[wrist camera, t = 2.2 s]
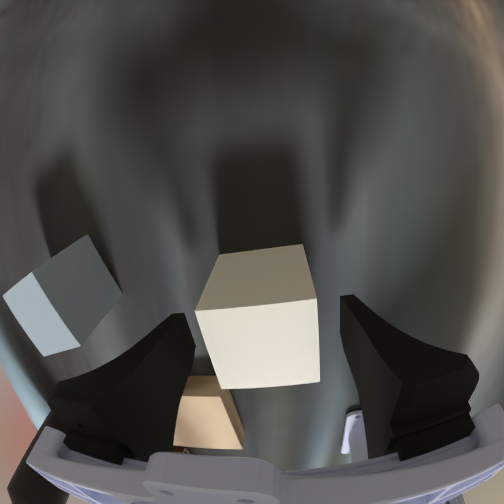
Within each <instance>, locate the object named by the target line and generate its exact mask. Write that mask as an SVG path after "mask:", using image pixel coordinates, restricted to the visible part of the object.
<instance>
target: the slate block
mask: <svg viewBox="0 0 504 504" xmlns="http://www.w3.org/2000/svg"><path fill="white" fill-rule="evenodd" d="M122 294H123V293H122V292H121V290H120V288H119V287H118V285H117V284H116V282H115V280H114V279H113V277H112V276H111V274H110V272H109V271H108V269H107V267H106V266H105V264H104V262H103V260H102V259H101V257H100V255H99V254H98V252H97V250H96V248H95V246H94V245H93V243H92V241H91V239H90V237H89V235H88V234H87V235H85V236H84V237H82V238H80V239H79V240H77V241H76V242H74V243H73V244H71V245H70V246H68V247H67V248H65V249H64V250H62V251H61V252H59V253H58V254H56V255H55V256H53V257H52V258H51V259H49V260H48V261H46V262H45V263H43V264H42V265H41V266H39V267H38V268H36V269H35V270H34V271H32V272H31V273H30V274H28V275H27V276H26V277H25V278H23V279H22V280H21V281H20V282H18V283H17V284H16V285H15V286H14V287H12V288H11V289H10V290H9V291H8V292H6V293H5V294H4V295H3V298H4V299H5V301H6V303H7V304H8V306H9V308H10V309H11V311H12V313H13V314H14V316H15V317H16V319H17V320H18V322H19V323H20V325H21V326H22V328H23V329H24V331H25V332H26V334H27V335H28V336H29V338H30V339H31V341H32V342H33V343H34V345H35V346H36V347H37V349H38V350H39V351H40V353H41V354H42V355H43V356H47V355H50V354H54V353H58V352H61V351H65V350H68V349H72V348H76V347H79V346H81V345H82V344H83V343H84V341H85V340H86V339H87V337H88V336H89V335H90V334H91V332H92V331H93V330H94V329H95V327H96V326H97V325H98V324H99V322H100V321H101V320H102V319H103V317H104V316H105V315H106V314H107V312H108V311H109V310H110V309H111V308H112V306H113V305H114V304H115V303H116V301H117V300H118V299H119V298H120V297H121V296H122Z"/></svg>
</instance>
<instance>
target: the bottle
mask: <svg viewBox="0 0 504 504" xmlns="http://www.w3.org/2000/svg"><path fill="white" fill-rule="evenodd" d="M45 426H48V427H51V428H54V429H56V430H59V431H61V432H63V433H64V434H66V435H67V433H68V431H69V430H68V429H67V428H66V427H65V425H64V424H63V423H62V422H61V421H60V420H59V419H58V418H57V416H56V415H55V414H54V413H53V412H52V410H51V411H50V413H49V414H48V416H47V417H46V419H45V421H44V422H43V424H42V426H41V427H40V429H39V431H38V432H37V434H36V436H35V438H34V439H33V441H32V442H31V444H30V446H29V448H28V449H27V451H26V453H25V455H24V456H23V458H22V460H21V462H20V464H19V466H18V467H17V469H16V471H15V473H14V475H13V477H12V479H11V481H10V483H9V485H8V487H7V490H8V493H9V496H10V498H11V501H12V504H66V502H67V499H68V497H69V494H70V493H67V492H65V491H63V490H62V489H60V488H58V487H56V486H55V485H54V484H52V483H51V482H50V481H48V480H47V479H46V478H44V477H43V476H42V475H40V474H39V473H38V472H37V471H35V470H34V469H33V468H32V467H31V466H29V465H28V464H27V463H26V460H27V458H28V456H29V454H30V453H31V451H32V449H33V447H34V445H35V444H36V442H37V440H38V438H39V437H40V435H41V433H42V431H43V430H44V428H45Z"/></svg>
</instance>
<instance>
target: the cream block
mask: <svg viewBox="0 0 504 504" xmlns="http://www.w3.org/2000/svg"><path fill="white" fill-rule="evenodd" d="M195 313H196V316H197V320H198V323H199V326H200V329H201V332H202V335H203V338H204V341H205V344H206V347H207V350H208V353H209V356H210V359H211V361H212V364H213V367H214V370H215V373H216V375H217V378H218V381H219V384H220V386H221V389H241V388H260V387H275V386H286V385H296V384H305V383H313V382H320V364H319V334H318V313H317V298H316V294H315V290H314V286H313V282H312V278H311V274H310V270H309V266H308V262H307V259H306V255H305V251H304V247H303V244H299V245H291V246H283V247H275V248H267V249H260V250H252V251H244V252H236V253H228V254H221V255H219V256H218V259H217V261H216V263H215V265H214V268H213V270H212V272H211V275H210V277H209V279H208V281H207V284H206V286H205V288H204V291H203V293H202V295H201V298H200V300H199V302H198V305H197V307H196V310H195Z"/></svg>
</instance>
